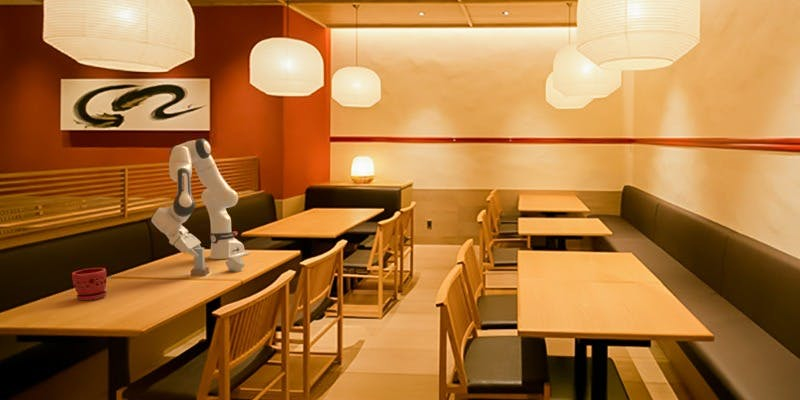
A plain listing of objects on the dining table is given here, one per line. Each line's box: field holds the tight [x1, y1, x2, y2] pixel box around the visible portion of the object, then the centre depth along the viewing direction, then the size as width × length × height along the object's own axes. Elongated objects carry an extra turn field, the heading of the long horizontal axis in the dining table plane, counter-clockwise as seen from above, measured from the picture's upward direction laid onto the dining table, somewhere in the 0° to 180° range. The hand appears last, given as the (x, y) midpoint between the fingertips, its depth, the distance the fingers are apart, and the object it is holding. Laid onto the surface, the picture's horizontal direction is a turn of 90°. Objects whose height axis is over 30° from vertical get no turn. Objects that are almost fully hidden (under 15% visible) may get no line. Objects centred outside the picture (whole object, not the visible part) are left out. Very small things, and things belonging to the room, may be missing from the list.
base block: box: [190, 266, 211, 276], centre depth 323 cm, size 7×7×3 cm
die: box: [225, 256, 246, 273], centre depth 331 cm, size 8×9×10 cm
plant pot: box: [71, 267, 108, 301], centre depth 280 cm, size 13×13×12 cm
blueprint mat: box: [188, 272, 212, 278], centre depth 324 cm, size 14×12×1 cm
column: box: [193, 247, 206, 270], centre depth 322 cm, size 4×4×10 cm
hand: (200, 254), depth 322 cm, fingers open, 8 cm apart
